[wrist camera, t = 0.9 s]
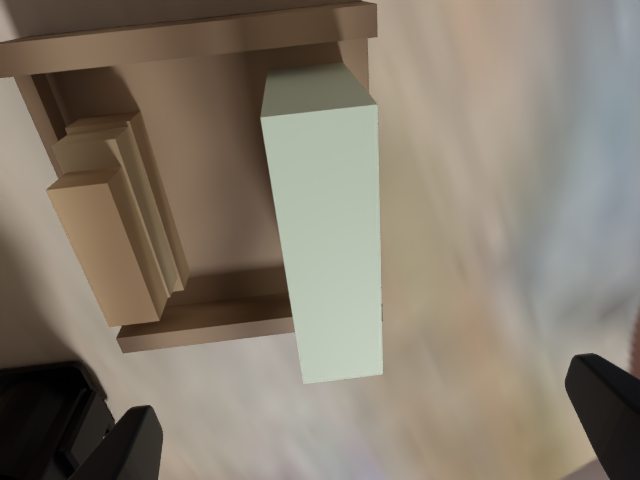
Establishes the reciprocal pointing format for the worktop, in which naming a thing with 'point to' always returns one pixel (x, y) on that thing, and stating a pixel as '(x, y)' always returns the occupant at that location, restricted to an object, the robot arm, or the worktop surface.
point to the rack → (197, 142)
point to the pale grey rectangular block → (327, 215)
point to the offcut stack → (118, 217)
